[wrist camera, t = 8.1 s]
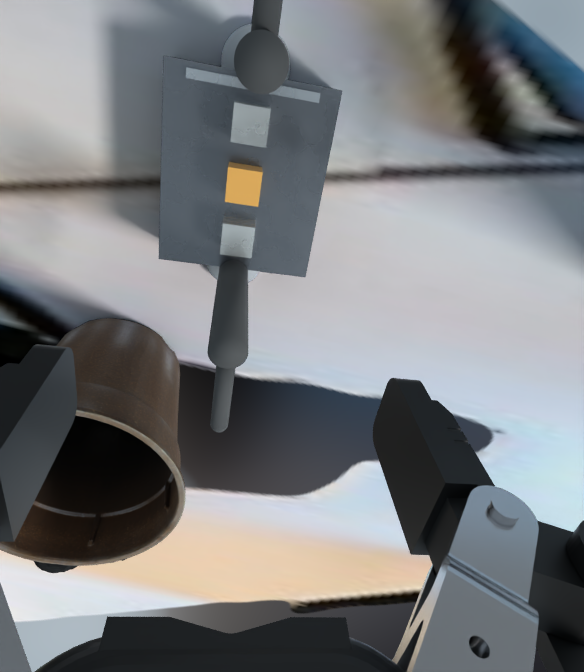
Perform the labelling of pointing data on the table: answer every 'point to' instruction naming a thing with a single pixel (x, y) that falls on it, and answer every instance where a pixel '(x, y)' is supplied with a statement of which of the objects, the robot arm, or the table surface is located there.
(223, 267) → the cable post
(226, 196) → the orange matte cube
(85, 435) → the plant pot
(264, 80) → the cable post
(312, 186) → the grey block holder
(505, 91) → the table surface
